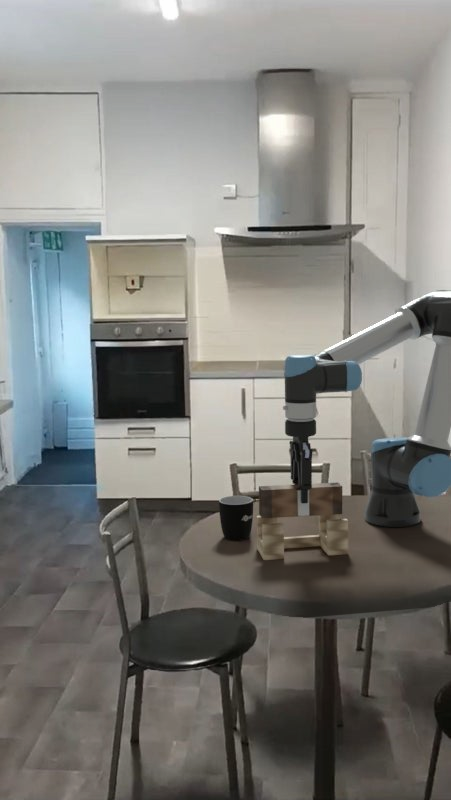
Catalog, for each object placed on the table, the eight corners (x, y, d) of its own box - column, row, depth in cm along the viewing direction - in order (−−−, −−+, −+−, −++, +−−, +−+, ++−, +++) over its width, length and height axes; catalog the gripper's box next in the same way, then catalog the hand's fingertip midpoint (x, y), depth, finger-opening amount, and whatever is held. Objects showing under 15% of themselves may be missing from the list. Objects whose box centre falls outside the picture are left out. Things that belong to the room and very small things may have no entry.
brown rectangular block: (337, 509, 202) (337, 482, 201) (342, 514, 198) (342, 486, 197) (259, 513, 199) (258, 486, 198) (262, 518, 195) (261, 490, 194)
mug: (243, 544, 206) (242, 506, 205) (213, 539, 211) (212, 502, 210) (265, 531, 217) (264, 495, 215) (236, 527, 221) (235, 491, 220)
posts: (338, 542, 206) (337, 510, 204) (348, 553, 197) (348, 520, 196) (257, 548, 203) (256, 515, 202) (263, 560, 194) (263, 525, 193)
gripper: (277, 414, 203) (278, 504, 206) (293, 425, 186) (294, 523, 190) (307, 413, 204) (307, 503, 207) (325, 423, 187) (325, 521, 191)
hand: (301, 512), depth 198 cm, fingers closed on brown rectangular block, 4 cm apart
